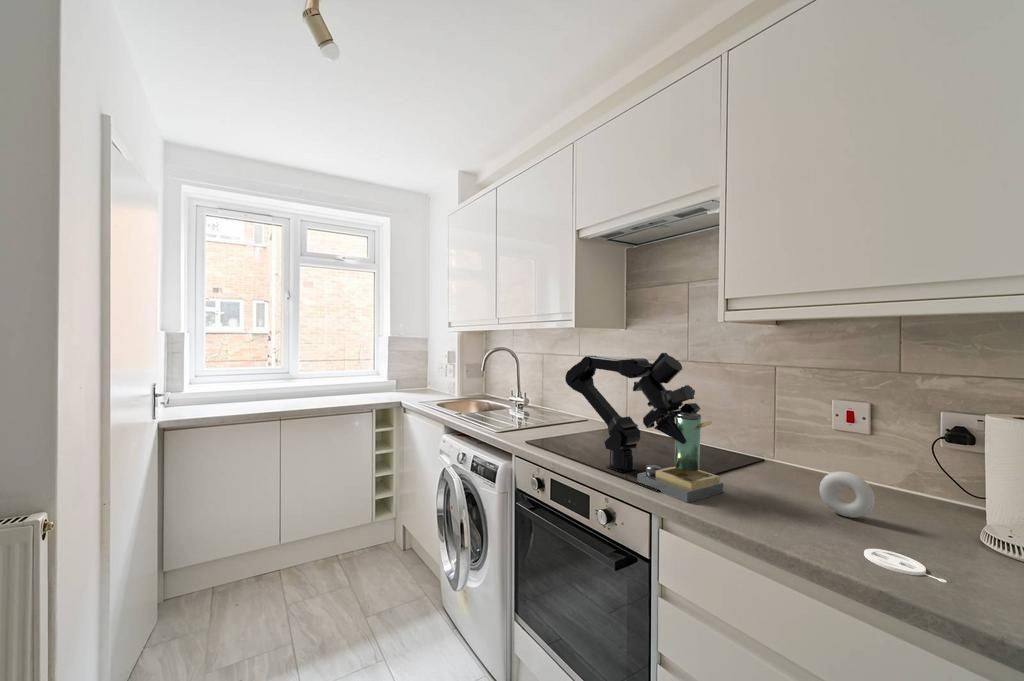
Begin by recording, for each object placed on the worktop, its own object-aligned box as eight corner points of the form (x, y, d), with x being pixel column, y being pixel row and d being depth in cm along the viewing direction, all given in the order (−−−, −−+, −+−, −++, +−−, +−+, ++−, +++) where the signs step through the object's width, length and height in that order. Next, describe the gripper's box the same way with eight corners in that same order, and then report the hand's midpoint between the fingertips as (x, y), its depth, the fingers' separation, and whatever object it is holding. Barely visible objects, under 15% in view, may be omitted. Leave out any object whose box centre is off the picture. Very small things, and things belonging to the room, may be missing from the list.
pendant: (873, 549, 80) (873, 545, 80) (954, 577, 71) (954, 572, 71) (856, 558, 76) (856, 554, 76) (940, 590, 67) (940, 585, 67)
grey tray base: (637, 482, 116) (637, 466, 116) (671, 475, 122) (671, 459, 122) (687, 502, 102) (687, 484, 102) (722, 492, 109) (722, 475, 109)
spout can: (669, 465, 111) (671, 413, 110) (682, 462, 114) (684, 411, 114) (703, 476, 103) (705, 419, 103) (716, 472, 106) (718, 417, 106)
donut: (876, 522, 92) (877, 476, 92) (872, 526, 89) (873, 479, 89) (821, 507, 99) (822, 465, 99) (817, 511, 97) (817, 468, 97)
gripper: (653, 377, 108) (691, 427, 99) (694, 374, 118) (733, 419, 109) (628, 403, 114) (662, 453, 105) (669, 398, 125) (704, 443, 116)
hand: (692, 441), depth 109 cm, fingers closed on spout can, 6 cm apart
